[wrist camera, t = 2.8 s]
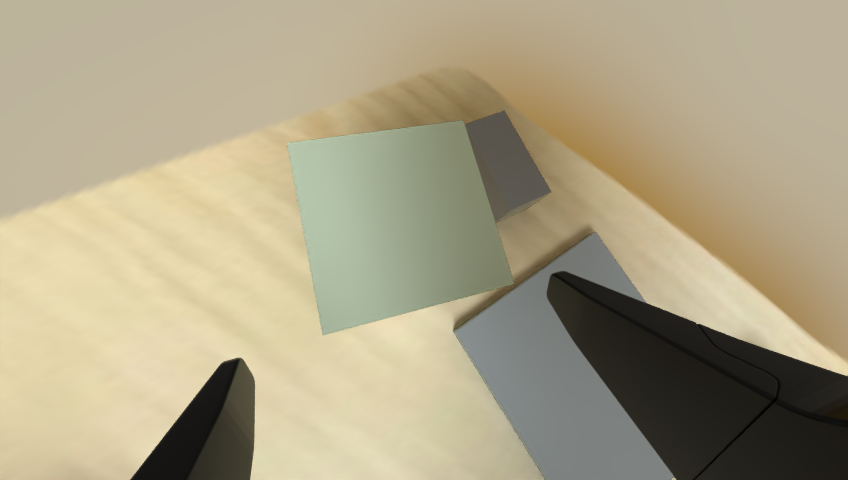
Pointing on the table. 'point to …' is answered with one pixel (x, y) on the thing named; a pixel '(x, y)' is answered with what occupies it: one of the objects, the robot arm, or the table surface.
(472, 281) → the sage brick
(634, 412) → the robot arm
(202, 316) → the table surface
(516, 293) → the slate mat
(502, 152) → the charcoal brick
